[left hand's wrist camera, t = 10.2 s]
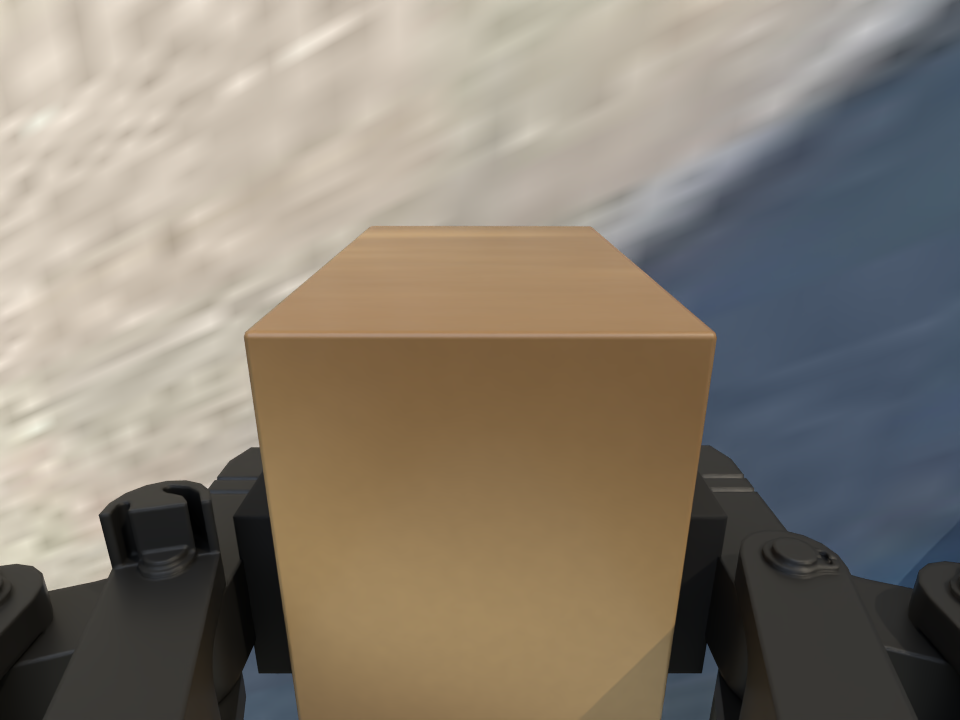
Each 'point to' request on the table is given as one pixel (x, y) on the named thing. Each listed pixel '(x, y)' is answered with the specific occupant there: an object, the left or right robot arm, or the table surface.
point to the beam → (480, 474)
